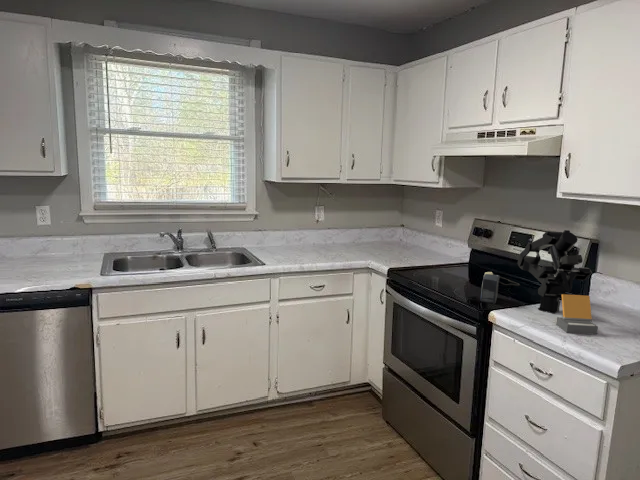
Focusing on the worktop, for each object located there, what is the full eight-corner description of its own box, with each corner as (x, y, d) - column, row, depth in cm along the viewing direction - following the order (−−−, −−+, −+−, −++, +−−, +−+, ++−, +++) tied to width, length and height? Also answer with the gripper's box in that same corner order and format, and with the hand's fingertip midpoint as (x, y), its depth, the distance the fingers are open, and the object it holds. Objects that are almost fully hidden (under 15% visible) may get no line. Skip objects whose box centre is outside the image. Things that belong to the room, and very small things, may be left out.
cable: (512, 279, 245) (513, 273, 245) (521, 287, 229) (522, 281, 229) (482, 276, 247) (483, 270, 247) (489, 285, 231) (490, 278, 231)
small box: (482, 295, 211) (484, 273, 209) (497, 297, 208) (500, 275, 206) (479, 301, 201) (482, 278, 199) (495, 303, 199) (498, 280, 197)
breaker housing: (556, 324, 176) (557, 316, 175) (584, 326, 176) (586, 318, 175) (566, 332, 168) (567, 324, 167) (596, 334, 168) (598, 326, 167)
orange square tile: (562, 320, 171) (560, 294, 174) (590, 321, 171) (588, 296, 174) (564, 319, 170) (562, 294, 173) (592, 321, 170) (590, 295, 173)
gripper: (545, 245, 180) (554, 280, 171) (593, 248, 179) (605, 282, 171) (533, 260, 189) (542, 294, 180) (579, 263, 189) (590, 296, 180)
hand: (569, 291), depth 177 cm, fingers closed
